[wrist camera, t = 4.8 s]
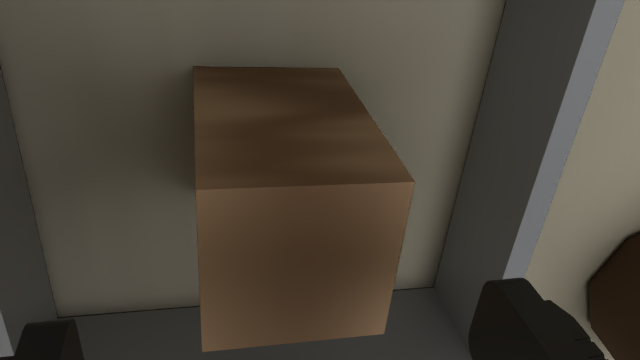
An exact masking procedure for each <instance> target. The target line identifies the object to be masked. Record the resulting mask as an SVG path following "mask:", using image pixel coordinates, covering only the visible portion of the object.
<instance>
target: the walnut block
mask: <svg viewBox="0 0 640 360" xmlns="http://www.w3.org/2000/svg"><path fill="white" fill-rule="evenodd" d="M193 76H194V132H195V189H196V214H197V239H198V264H199V289H200V314H201V339H202V352H208V351H218V350H228V349H238V348H248V347H258V346H268V345H278V344H288V343H298V342H308V341H318V340H328V339H338V338H348V337H358V336H368V335H378V334H384V332H385V327H386V322H387V317H388V312H389V307H390V302H391V297H392V292H393V288H394V283H395V278H396V273H397V268H398V263H399V258H400V253H401V248H402V243H403V239H404V234H405V229H406V224H407V219H408V214H409V209H410V204H411V199H412V194H413V189H414V185H415V181H414V180H413V178H412V177H411V175H410V174H409V172H408V171H407V169H406V168H405V166H404V165H403V163H402V162H401V160H400V159H399V157H398V156H397V154H396V153H395V151H394V150H393V149H392V147H391V146H390V144H389V143H388V141H387V140H386V138H385V137H384V135H383V134H382V132H381V131H380V129H379V128H378V126H377V125H376V123H375V122H374V120H373V119H372V117H371V116H370V114H369V113H368V111H367V110H366V108H365V107H364V105H363V104H362V102H361V101H360V99H359V98H358V96H357V95H356V94H355V92H354V91H353V89H352V88H351V86H350V85H349V83H348V82H347V80H346V79H345V77H344V76H343V74H342V73H341V71H340V70H339V68H286V67H206V66H193Z"/></svg>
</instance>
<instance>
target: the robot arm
mask: <svg viewBox="0 0 640 360" xmlns="http://www.w3.org/2000/svg"><path fill="white" fill-rule="evenodd" d="M468 343H469V349H470V353H471V357H472V359H473V360H606V359H605V358H604V354H603V353H602V351H601V350H600V349H599V348H598V347H597V345H596V344H595V343H594V342H591V341H590V337H589V336H588V334H587V333H586V332H585V331H584V330H583V328H582V327H581V326H580V325H579V323H578V322H577V321H576V320H575V319H574V317H572V316H571V315H570V314H568V313H567V312H566V311H564V310H563V309H561V308H560V307H559V306H557V305H556V304H555V303H553V302H552V301H550V300H546V301H544V300H543V299H542V298H541V296H540V295H539V294H538V293H537V291H536V290H535V289H534V287H533V286H532V285H531V284H530V283H529V281H527V280H526V279H524V278H511V279H501V280H490V281H487V282H486V283H485V284H484V285H483V288H482V291H481V294H480V297H479V300H478V304H477V307H476V310H475V313H474V316H473V320H472V323H471V326H470V329H469V334H468ZM0 360H84V356H83V352H82V347H81V343H80V338H79V334H78V329H77V325H76V322H75V320H74V319H65V320H55V321H44V322H34V323H27V324H26V325H25V327H24V328H23V331H22V334H21V337H20V340H19V343H18V346H17V349H16V352H15V355H14V356H7V357H0ZM607 360H608V359H607Z"/></svg>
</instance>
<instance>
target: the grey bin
mask: <svg viewBox="0 0 640 360" xmlns="http://www.w3.org/2000/svg"><path fill="white" fill-rule="evenodd" d="M623 3H624V0H507V1H506V5H505V9H504V13H503V17H502V21H501V25H500V29H499V33H498V37H497V41H496V44H495V48H494V52H493V56H492V60H491V64H490V68H489V72H488V76H487V80H486V84H485V88H484V92H483V96H482V99H481V103H480V107H479V111H478V115H477V119H476V123H475V127H474V131H473V135H472V139H471V143H470V147H469V151H468V155H467V158H466V162H465V166H464V170H463V174H462V178H461V182H460V186H459V190H458V194H457V198H456V202H455V206H454V210H453V214H452V217H451V221H450V225H449V229H448V233H447V237H446V241H445V245H444V249H443V253H442V257H441V261H440V265H439V269H438V272H437V276H436V280H435V284H434V287H433V288H421V289H409V290H396V291H393V292H392V297H391V302H390V307H389V312H388V317H387V322H386V327H385V332H384V334H378V335H368V336H358V337H348V338H338V339H328V340H318V341H308V342H298V343H288V344H278V345H268V346H258V347H248V348H238V349H228V350H218V351H208V352H202V339H201V314H200V307H189V308H177V309H165V310H152V311H140V312H128V313H116V314H103V315H91V316H79V317H67V318H57V313H56V309H55V304H54V300H53V296H52V291H51V287H50V283H49V278H48V274H47V269H46V265H45V261H44V256H43V252H42V248H41V243H40V239H39V234H38V230H37V226H36V221H35V217H34V212H33V208H32V204H31V199H30V195H29V191H28V186H27V182H26V177H25V173H24V169H23V164H22V160H21V155H20V151H19V147H18V142H17V138H16V134H15V129H14V125H13V120H12V116H11V112H10V107H9V103H8V98H7V94H6V90H5V85H4V81H3V77H2V72H1V68H0V357H7V356H14V355H15V352H16V349H17V346H18V343H19V340H20V337H21V334H22V331H23V328H24V327H25V325H26V324H27V323H34V322H44V321H55V320H65V319H74V320H75V322H76V325H77V329H78V334H79V338H80V343H81V347H82V352H83V356H84V360H473V359H472V357H471V353H470V349H469V343H468V334H469V329H470V326H471V323H472V320H473V316H474V313H475V310H476V307H477V304H478V300H479V297H480V294H481V291H482V288H483V285H484V284H485V283H486V282H487V281H490V280H501V279H511V278H524V276H525V273H526V270H527V267H528V265H529V262H530V259H531V256H532V254H533V251H534V248H535V245H536V243H537V240H538V237H539V234H540V232H541V229H542V226H543V223H544V221H545V218H546V215H547V212H548V210H549V207H550V204H551V201H552V199H553V196H554V193H555V190H556V188H557V185H558V182H559V179H560V177H561V174H562V171H563V168H564V166H565V163H566V160H567V157H568V155H569V152H570V149H571V146H572V144H573V141H574V138H575V135H576V133H577V130H578V127H579V124H580V122H581V119H582V116H583V113H584V111H585V108H586V105H587V102H588V100H589V97H590V94H591V91H592V89H593V86H594V83H595V80H596V78H597V75H598V72H599V69H600V67H601V64H602V61H603V58H604V56H605V53H606V50H607V47H608V45H609V42H610V39H611V36H612V34H613V31H614V28H615V25H616V23H617V20H618V17H619V14H620V11H621V9H622V6H623Z"/></svg>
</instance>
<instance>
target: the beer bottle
mask: <svg viewBox="0 0 640 360" xmlns="http://www.w3.org/2000/svg"><path fill="white" fill-rule="evenodd" d="M589 308H590V323H591V328H592V329H593V331H594V332H595V333H596V335H597V336H598V337H599V339H600V340H601V342H602V343H603V344H604V346H605V347H606V348H607V350H608V351H609V352H610V354H611V355H612V357H613V358H614V359H615V360H640V233H639V234H636V235H634V236H631V237H629V238H627V240H626V241H625V242H624V243H623V244H622V245H621V246H620V248H619V249H618V250H617V251H616V252H615V253H614V254H613V255H612V257H611V258H610V259H609V260H608V261H607V262H606V263H605V265H604V266H603V267H602V268H601V269H600V270H599V271H598V273H597V274H596V275H595V276H594V277H593V278H592V279H591V280H590V282H589Z"/></svg>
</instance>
